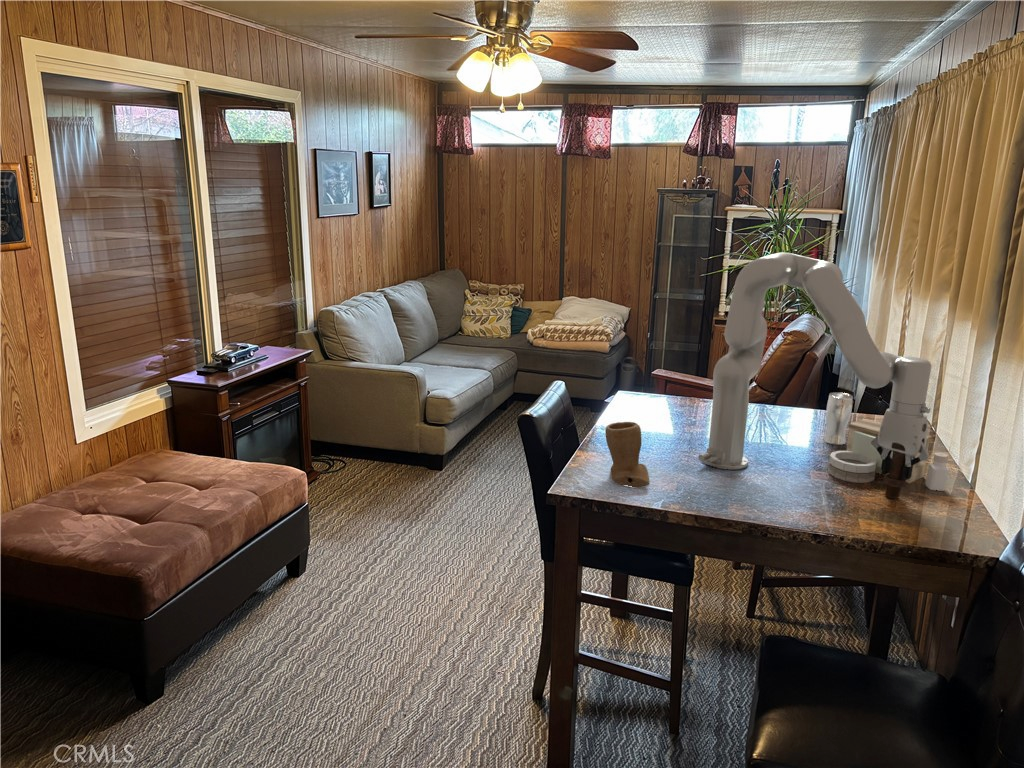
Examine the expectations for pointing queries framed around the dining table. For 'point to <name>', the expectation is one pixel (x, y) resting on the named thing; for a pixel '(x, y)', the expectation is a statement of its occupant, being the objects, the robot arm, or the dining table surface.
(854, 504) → the dining table surface
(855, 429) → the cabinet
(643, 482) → the tan hollow piece
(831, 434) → the silver tall cylinder
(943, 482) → the pepper shaker
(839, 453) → the grey piece
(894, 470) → the bolt
